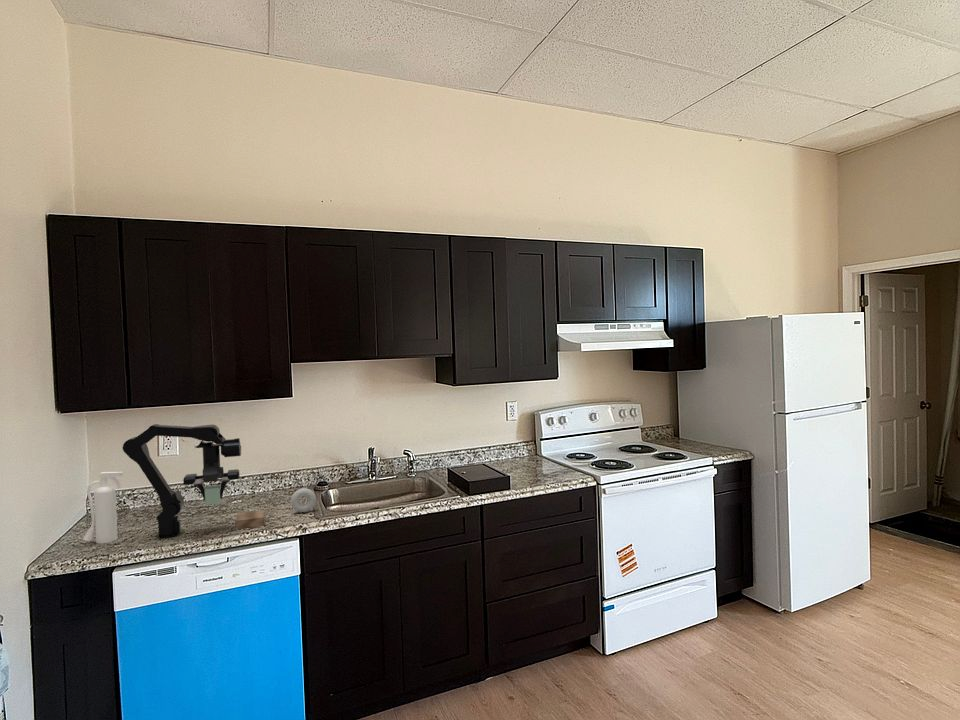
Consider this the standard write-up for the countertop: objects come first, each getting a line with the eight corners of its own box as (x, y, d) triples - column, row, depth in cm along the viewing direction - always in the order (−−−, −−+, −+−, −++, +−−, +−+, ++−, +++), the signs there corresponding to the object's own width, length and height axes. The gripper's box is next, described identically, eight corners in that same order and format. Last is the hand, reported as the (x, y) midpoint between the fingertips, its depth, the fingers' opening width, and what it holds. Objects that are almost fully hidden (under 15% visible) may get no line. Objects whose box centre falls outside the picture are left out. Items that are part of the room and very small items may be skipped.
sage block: (205, 505, 200) (204, 489, 200) (206, 501, 205) (205, 486, 205) (220, 503, 202) (219, 487, 202) (221, 500, 207) (220, 484, 207)
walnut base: (235, 531, 202) (235, 520, 202) (238, 523, 212) (237, 513, 212) (264, 527, 206) (264, 517, 206) (265, 519, 215) (265, 510, 215)
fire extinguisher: (85, 540, 195) (84, 472, 195) (124, 535, 201) (124, 469, 200) (80, 546, 189) (80, 476, 189) (121, 541, 195) (121, 473, 194)
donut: (316, 509, 226) (315, 485, 226) (316, 511, 223) (315, 487, 223) (290, 512, 222) (290, 488, 222) (291, 515, 219) (290, 490, 219)
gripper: (180, 465, 192) (182, 508, 193) (237, 459, 199) (239, 501, 200) (184, 459, 203) (186, 500, 203) (238, 454, 210) (240, 494, 210)
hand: (213, 499), depth 204 cm, fingers closed on sage block, 5 cm apart
